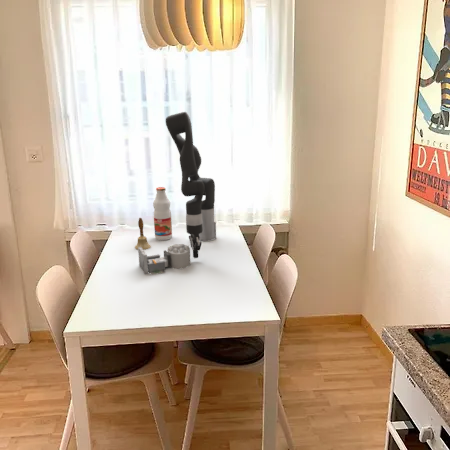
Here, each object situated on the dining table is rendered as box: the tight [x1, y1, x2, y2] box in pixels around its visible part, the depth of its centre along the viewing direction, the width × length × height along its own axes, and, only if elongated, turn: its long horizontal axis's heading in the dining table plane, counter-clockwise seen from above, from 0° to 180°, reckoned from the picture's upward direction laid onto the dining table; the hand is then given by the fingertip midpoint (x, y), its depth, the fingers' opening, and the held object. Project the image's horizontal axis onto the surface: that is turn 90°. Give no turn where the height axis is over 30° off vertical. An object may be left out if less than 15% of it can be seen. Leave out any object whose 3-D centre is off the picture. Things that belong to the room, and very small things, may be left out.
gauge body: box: [137, 247, 166, 275], centre depth 227 cm, size 10×14×9 cm
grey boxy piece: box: [147, 250, 171, 268], centre depth 227 cm, size 9×11×6 cm
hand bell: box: [134, 217, 152, 251], centre depth 255 cm, size 8×8×16 cm
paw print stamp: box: [167, 243, 191, 270], centre depth 232 cm, size 10×13×9 cm
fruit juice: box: [152, 186, 173, 241], centre depth 268 cm, size 9×9×28 cm
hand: (195, 257), depth 236 cm, fingers closed
